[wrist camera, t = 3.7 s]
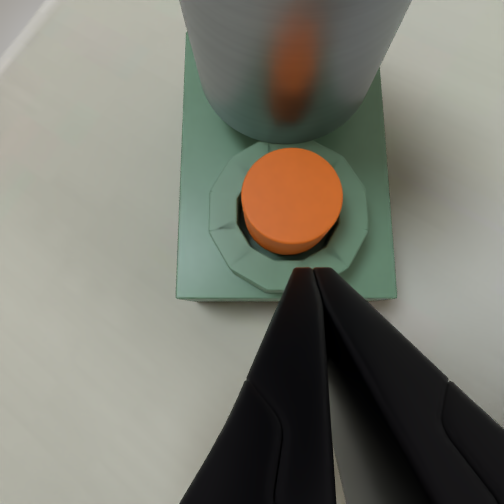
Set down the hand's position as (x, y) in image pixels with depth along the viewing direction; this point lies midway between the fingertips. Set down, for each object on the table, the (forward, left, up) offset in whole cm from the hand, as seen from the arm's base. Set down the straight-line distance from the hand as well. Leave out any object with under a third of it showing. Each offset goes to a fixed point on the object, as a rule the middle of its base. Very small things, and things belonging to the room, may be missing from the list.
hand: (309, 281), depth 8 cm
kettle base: (+5, +5, -12) cm, 14 cm away
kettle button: (+2, +3, -6) cm, 7 cm away
